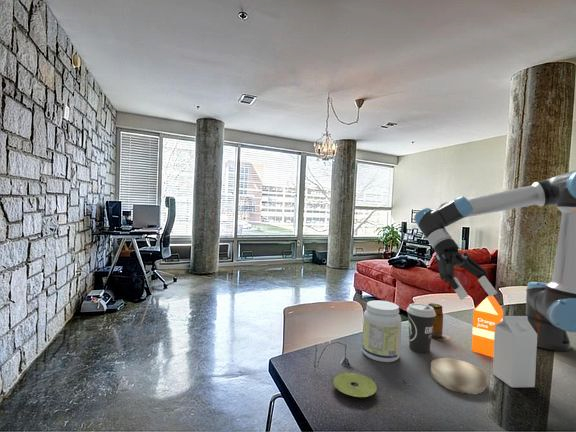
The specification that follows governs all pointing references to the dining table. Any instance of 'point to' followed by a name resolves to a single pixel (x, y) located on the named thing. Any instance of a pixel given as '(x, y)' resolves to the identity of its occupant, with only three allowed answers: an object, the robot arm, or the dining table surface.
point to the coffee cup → (420, 326)
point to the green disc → (355, 384)
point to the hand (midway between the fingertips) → (479, 296)
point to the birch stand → (458, 375)
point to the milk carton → (515, 351)
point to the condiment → (438, 323)
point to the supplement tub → (382, 331)
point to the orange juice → (485, 325)
